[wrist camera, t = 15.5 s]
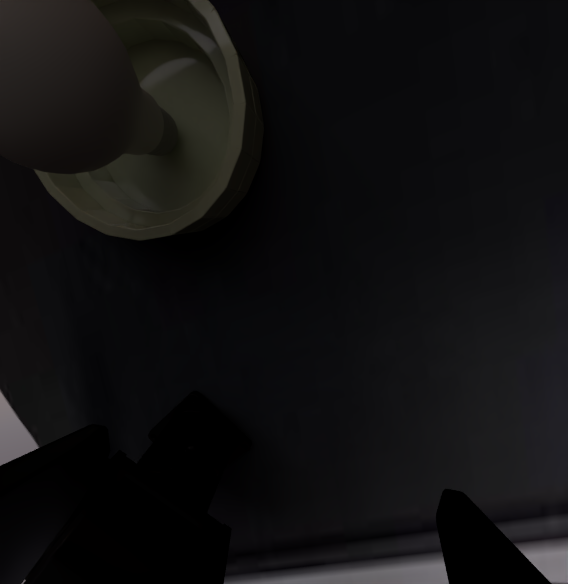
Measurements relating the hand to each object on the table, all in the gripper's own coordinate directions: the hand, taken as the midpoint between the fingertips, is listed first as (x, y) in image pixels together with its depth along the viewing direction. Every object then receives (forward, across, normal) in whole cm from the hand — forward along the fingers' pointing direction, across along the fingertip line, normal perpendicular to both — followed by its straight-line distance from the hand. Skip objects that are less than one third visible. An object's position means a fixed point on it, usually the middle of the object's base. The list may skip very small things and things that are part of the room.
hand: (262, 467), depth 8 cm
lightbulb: (+13, +9, -10) cm, 19 cm away
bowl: (+13, +9, -10) cm, 19 cm away
